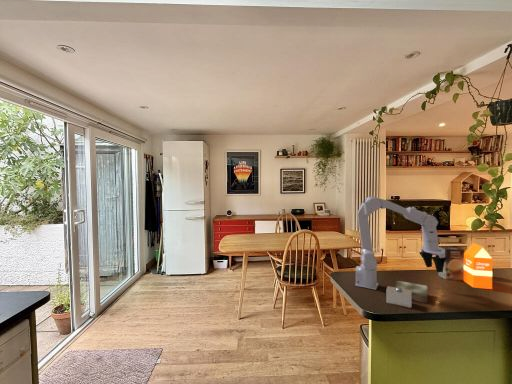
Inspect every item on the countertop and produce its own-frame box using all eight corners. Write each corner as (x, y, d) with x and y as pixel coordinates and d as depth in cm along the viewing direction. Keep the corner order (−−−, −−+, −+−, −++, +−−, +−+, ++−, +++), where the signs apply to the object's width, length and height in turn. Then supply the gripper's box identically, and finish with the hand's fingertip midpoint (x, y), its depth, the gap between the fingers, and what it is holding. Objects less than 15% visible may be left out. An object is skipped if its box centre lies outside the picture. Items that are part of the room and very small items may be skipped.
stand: (394, 296, 111) (394, 287, 111) (396, 288, 120) (396, 280, 120) (427, 303, 105) (427, 293, 105) (427, 294, 113) (427, 285, 113)
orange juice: (473, 287, 121) (473, 246, 120) (463, 280, 129) (463, 242, 129) (492, 289, 119) (493, 247, 118) (481, 282, 127) (481, 243, 127)
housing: (386, 302, 106) (386, 288, 106) (387, 298, 110) (387, 284, 110) (411, 308, 101) (411, 292, 101) (411, 303, 105) (411, 288, 105)
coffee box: (445, 279, 131) (445, 249, 131) (438, 275, 137) (438, 246, 137) (464, 280, 130) (464, 249, 130) (455, 276, 136) (456, 246, 136)
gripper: (450, 242, 109) (454, 273, 109) (429, 236, 124) (433, 263, 123) (433, 244, 110) (437, 275, 109) (414, 238, 124) (418, 265, 124)
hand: (434, 269), depth 116 cm, fingers open, 7 cm apart
